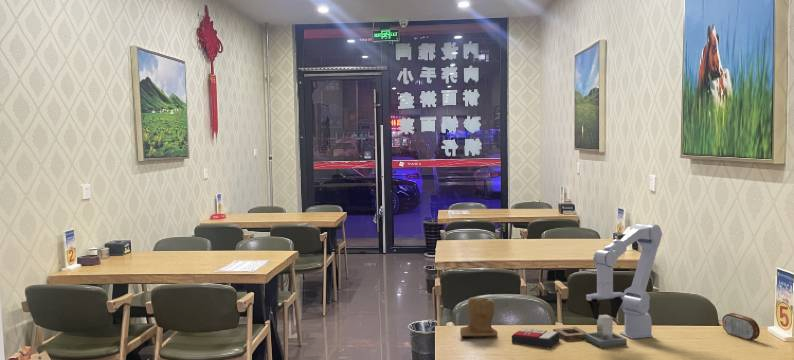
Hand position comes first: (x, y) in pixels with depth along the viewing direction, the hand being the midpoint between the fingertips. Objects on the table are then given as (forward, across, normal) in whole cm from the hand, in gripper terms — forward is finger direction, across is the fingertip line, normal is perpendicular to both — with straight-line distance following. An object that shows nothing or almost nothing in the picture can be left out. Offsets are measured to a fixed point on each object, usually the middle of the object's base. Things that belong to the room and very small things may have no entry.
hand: (605, 318), depth 236 cm
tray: (+9, 0, 0) cm, 9 cm away
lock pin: (+8, 0, 0) cm, 8 cm away
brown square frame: (+9, +8, -11) cm, 17 cm away
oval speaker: (+10, -53, +8) cm, 54 cm away
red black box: (+10, +24, -9) cm, 28 cm away
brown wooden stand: (+10, +42, -23) cm, 49 cm away
